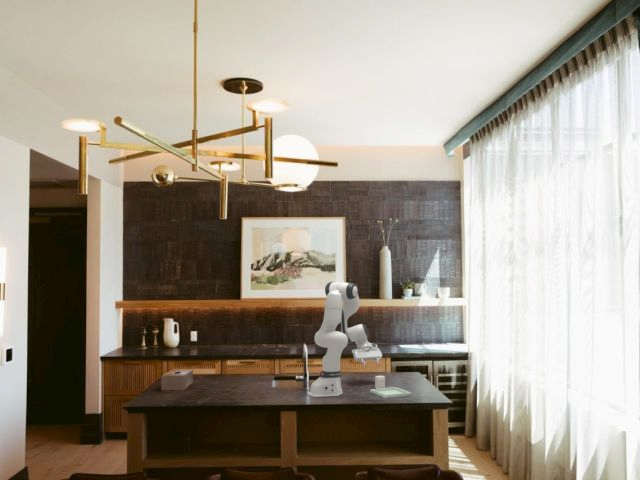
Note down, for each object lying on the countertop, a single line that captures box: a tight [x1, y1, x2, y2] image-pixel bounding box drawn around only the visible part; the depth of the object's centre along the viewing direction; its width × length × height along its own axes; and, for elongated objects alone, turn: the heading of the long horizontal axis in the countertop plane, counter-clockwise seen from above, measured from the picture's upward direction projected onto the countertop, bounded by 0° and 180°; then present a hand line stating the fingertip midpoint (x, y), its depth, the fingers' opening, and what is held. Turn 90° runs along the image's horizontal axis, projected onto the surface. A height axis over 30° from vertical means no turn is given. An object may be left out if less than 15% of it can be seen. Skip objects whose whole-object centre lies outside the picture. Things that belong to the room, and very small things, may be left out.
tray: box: [369, 386, 413, 399], centre depth 367 cm, size 18×20×2 cm
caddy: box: [374, 375, 386, 389], centre depth 385 cm, size 5×5×8 cm
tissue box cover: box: [160, 369, 194, 391], centre depth 398 cm, size 26×14×10 cm, turn 179°
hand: (371, 364), depth 398 cm, fingers open, 8 cm apart
